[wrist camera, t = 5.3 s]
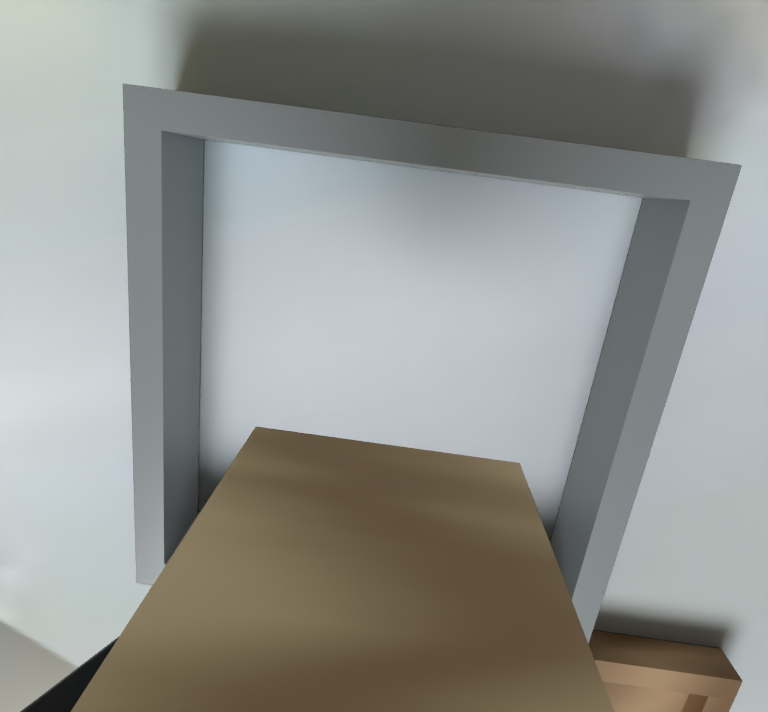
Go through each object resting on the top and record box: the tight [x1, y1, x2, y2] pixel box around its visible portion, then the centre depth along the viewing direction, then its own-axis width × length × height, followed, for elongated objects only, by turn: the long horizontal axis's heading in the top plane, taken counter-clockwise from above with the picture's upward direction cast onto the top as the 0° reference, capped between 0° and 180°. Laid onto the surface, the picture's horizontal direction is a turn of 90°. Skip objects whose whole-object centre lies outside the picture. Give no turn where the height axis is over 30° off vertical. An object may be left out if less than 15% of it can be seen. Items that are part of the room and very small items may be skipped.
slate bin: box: [123, 84, 742, 644], centre depth 17 cm, size 16×16×3 cm
